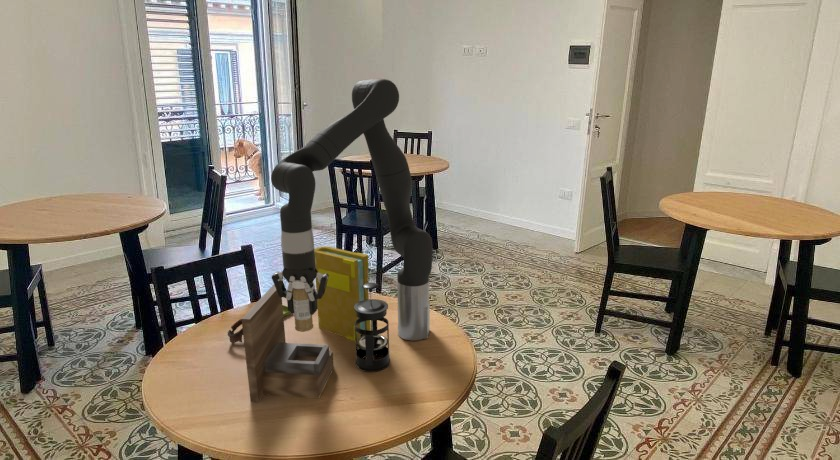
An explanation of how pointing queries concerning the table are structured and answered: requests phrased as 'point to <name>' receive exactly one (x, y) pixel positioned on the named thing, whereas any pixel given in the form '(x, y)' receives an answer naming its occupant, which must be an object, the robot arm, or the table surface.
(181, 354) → the table surface
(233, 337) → the pottery mug
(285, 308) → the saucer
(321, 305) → the book
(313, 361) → the brown wooden holder
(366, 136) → the robot arm
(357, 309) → the french press
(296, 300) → the sprinkles bottle
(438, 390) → the table surface
